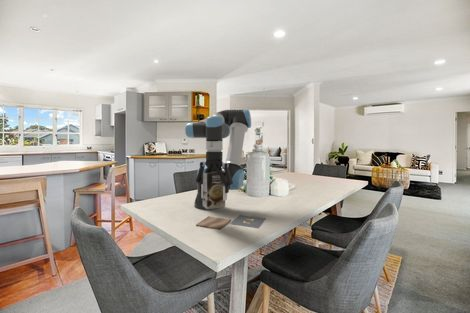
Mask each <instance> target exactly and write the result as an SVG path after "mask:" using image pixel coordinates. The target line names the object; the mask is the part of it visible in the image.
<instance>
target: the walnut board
mask: <svg viewBox="0 0 470 313" xmlns="http://www.w3.org/2000/svg"><path fill="white" fill-rule="evenodd" d="M231 222H232V220H231V219H229V218H224V217H214V216H207V217H205V218H204V219H202V220H200V221H199V222H198V223H196V224H195V226H196V227H201V228H206V229H207V228H208V229H214V230H219V231H221V229H223V228H225V227H226V226H227V224H228V223H229V224H230V223H231Z"/></svg>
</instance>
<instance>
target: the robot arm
mask: <svg viewBox="0 0 470 313" xmlns="http://www.w3.org/2000/svg"><path fill="white" fill-rule="evenodd" d="M251 127H252V117H251V112H250V110H249V109H243V108H242V109H224V110H220V111H217V112H215V113H213V114H212V115H210V116H207V117H206V118H205V119H202V120H200V121H197V122H189V123H187V124H185V129H184V131H185V133H184V134H185V135H186V137H188V138H191V139H197V138H198V139H203V138H204V139H205V150H206V152H205V160H206V161H200V162H199V168H198V169H197V173H196V174H197V175H196V180H195V181H196V183H197V186H196V187H197V189H196V190H197V191H196V192H197V193H196V197H195V200H194V208H196V209H199V210H207V209H206V208H205V207H204V206H203V172H217V173H219V175H220V177H221V179H222V181H223V183H224V185H225V186H223V201H225V202H226V200H228V193H229V192H230V191H238V190H240V189H241V188H242V187H243V184H244V180H245V170H243V166H242V165H241V160H242V153H243V146H244V141H245V134H246V133H247V132H248V130H249V128H251ZM229 136H230V137H229ZM228 137H229V143H228V148H227V154H226V160H225V162H223V150H224V148H223V144H224V143H223V140H224V139H226V138H228ZM223 172H225V173H226V177H225V176H224V174H223ZM214 209H215V208H213V209H212V210H214Z"/></svg>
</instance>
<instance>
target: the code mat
mask: <svg viewBox="0 0 470 313" xmlns="http://www.w3.org/2000/svg"><path fill="white" fill-rule="evenodd" d="M266 219H267V218H266V217H262V216H261V217H260V216H253V215H248V214H247V215H246V214H238V215H237V216H236V217H235V218H234V219H233V220H231V221H230V222H229V225H236V226H242V227H249V228H255V229H260V227H261V226H262V224H263V223H264V222H265V220H266Z"/></svg>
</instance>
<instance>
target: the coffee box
mask: <svg viewBox="0 0 470 313" xmlns="http://www.w3.org/2000/svg"><path fill="white" fill-rule="evenodd" d="M223 174H224V176H225V177H226V173H225V172H223ZM223 186H225V185H224V183H223V181H222V179H221V177H220V175H219V173H217V172H203V206H204V207H205V208H206V209H205V210H214V209H220V208H225V207H226V200H225V201H223ZM213 208H214V209H213Z"/></svg>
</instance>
